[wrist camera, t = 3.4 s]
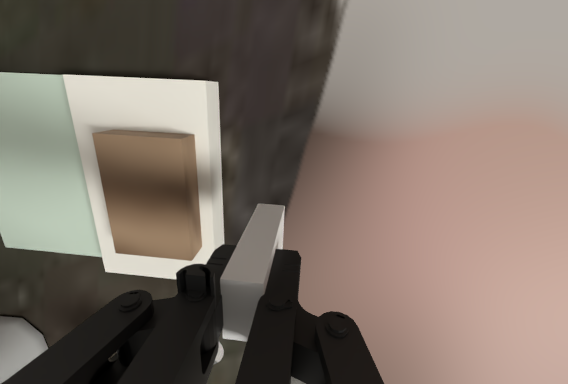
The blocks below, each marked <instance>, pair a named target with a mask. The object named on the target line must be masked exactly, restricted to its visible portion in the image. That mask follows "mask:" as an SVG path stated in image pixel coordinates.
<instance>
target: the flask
mask: <svg viewBox="0 0 568 384" xmlns="http://www.w3.org/2000/svg"><path fill="white" fill-rule="evenodd" d="M47 349H48V347H47V344H46V342H45V339H44V337H43V335H42V334H41V333H40V332H39V331H37V330H36V329H35V328H34V327H33V326H31V325H30V324H29V323H28V322H27V321H25V320H24V319H23V318H16V317H4V316H0V384H1V383H2V382H4V381H6V380H7V379H8V378H10V377H11V376H12V375H14V374H15V373H16V372H18V371H19V370H20V369H22V368H23V367H24V366H26V365H27V364H28V363H30V362H31V361H32V360H34V359H35V358H36V357H38V356H39V355H40V354H42V353H43V352H44V351H46V350H47Z"/></svg>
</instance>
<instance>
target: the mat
mask: <svg viewBox="0 0 568 384" xmlns="http://www.w3.org/2000/svg"><path fill="white" fill-rule="evenodd" d="M0 233H1V236H2V239H3V242H4V244H5V247H9V248H19V249H29V250H39V251H49V252H58V253H68V254H78V255H88V256H98V257H102V253H101V249H100V244H99V239H98V235H97V230H96V226H95V221H94V216H93V212H92V207H91V203H90V198H89V193H88V189H87V184H86V180H85V175H84V170H83V166H82V161H81V157H80V152H79V147H78V143H77V138H76V134H75V129H74V125H73V120H72V115H71V111H70V106H69V102H68V97H67V92H66V88H65V83H64V79H63V75H51V74H28V73H6V72H0Z"/></svg>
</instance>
